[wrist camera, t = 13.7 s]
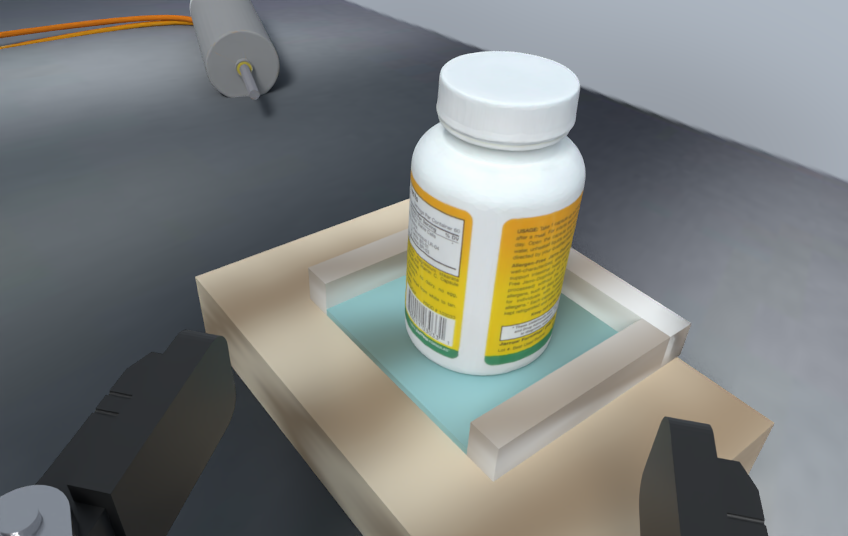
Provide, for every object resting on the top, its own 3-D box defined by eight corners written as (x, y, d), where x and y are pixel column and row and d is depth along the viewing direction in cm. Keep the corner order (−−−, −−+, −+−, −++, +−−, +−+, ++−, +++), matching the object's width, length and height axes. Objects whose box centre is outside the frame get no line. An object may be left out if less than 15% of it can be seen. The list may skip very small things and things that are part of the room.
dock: (206, 333, 30) (189, 245, 27) (431, 240, 36) (436, 161, 33) (496, 706, 18) (516, 621, 16) (748, 477, 25) (794, 388, 22)
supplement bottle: (389, 367, 24) (394, 99, 18) (419, 274, 28) (431, 34, 22) (549, 393, 23) (606, 125, 17) (555, 294, 27) (602, 52, 22)
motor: (251, 18, 63) (236, -40, 60) (301, 120, 46) (283, 47, 43) (-22, 81, 59) (-54, 22, 56) (-75, 218, 42) (-125, 146, 39)
